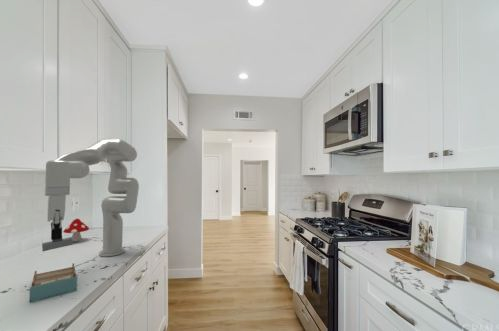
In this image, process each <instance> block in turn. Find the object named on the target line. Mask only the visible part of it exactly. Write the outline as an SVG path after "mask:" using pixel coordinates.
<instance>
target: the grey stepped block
mask: <svg viewBox="0 0 499 331" xmlns="http://www.w3.org/2000/svg"><path fill="white" fill-rule="evenodd" d="M50 228H51V229H52V221H51V222H50ZM72 245H73V241H72V236H70V237H65V238H63V237H62V238H61V239H55V240H50V241H47V242H43V243H42V244H41V248H42V252H46V251H50V250H56V249H60V248H64V247H68V246H72Z"/></svg>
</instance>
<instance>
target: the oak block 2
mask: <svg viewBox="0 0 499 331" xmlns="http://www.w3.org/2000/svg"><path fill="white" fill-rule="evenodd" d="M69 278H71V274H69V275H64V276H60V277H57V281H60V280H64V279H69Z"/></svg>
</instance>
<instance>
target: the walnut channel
mask: <svg viewBox="0 0 499 331" xmlns="http://www.w3.org/2000/svg"><path fill="white" fill-rule="evenodd" d="M75 268H76V267H75V263H72V266H71V267H70V266H68V267H66V268H61V269H60V268H59V269H55V270H50V271H46V272H40V273H38V272H37V270H35V271H34V274H33V277H32V281H31V287H33V286H38V285H41V281H42V280H47V279H51V278H55V281H57V277H60V276H64V275H69V274H71V278H73V277H77V274H76V269H75Z"/></svg>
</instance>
